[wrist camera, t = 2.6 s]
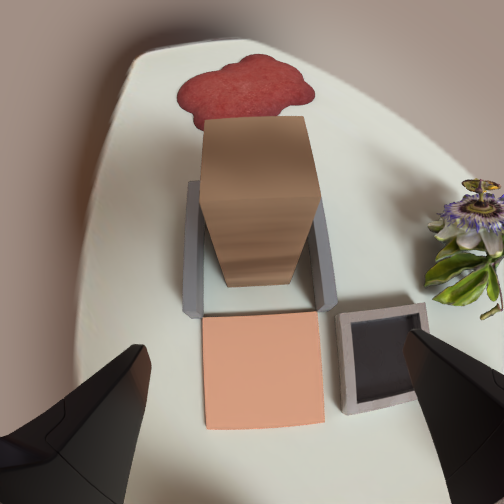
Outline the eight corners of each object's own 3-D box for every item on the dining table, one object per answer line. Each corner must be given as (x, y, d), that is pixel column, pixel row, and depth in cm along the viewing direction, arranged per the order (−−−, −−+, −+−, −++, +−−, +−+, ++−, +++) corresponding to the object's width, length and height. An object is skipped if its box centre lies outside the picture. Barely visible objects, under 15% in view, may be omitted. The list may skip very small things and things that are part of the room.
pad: (323, 421, 19) (324, 422, 19) (207, 428, 19) (206, 429, 19) (316, 312, 23) (317, 311, 22) (203, 318, 23) (202, 317, 22)
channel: (328, 311, 23) (338, 303, 20) (191, 318, 23) (182, 311, 20) (311, 194, 27) (317, 175, 24) (194, 200, 27) (188, 181, 24)
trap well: (425, 393, 20) (434, 393, 18) (341, 412, 20) (347, 415, 18) (416, 306, 23) (425, 302, 21) (334, 316, 23) (339, 313, 21)
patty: (266, 54, 38) (266, 44, 36) (330, 97, 34) (332, 85, 32) (163, 95, 34) (160, 84, 32) (215, 150, 30) (213, 138, 28)
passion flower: (420, 247, 31) (477, 168, 24) (477, 312, 25) (542, 236, 18) (386, 261, 23) (466, 149, 16) (463, 353, 18) (561, 249, 11)
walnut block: (289, 284, 24) (321, 196, 12) (227, 287, 24) (199, 202, 12) (283, 229, 26) (303, 116, 14) (226, 231, 26) (204, 120, 14)
